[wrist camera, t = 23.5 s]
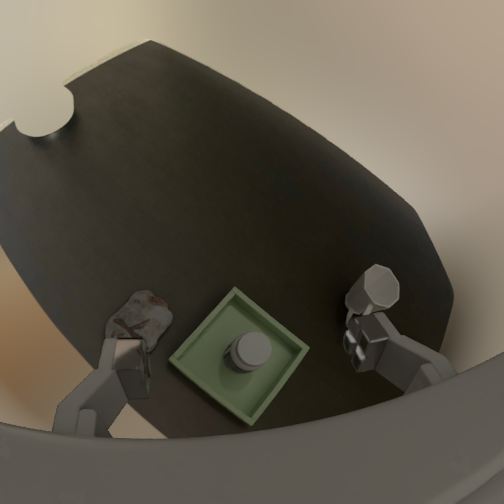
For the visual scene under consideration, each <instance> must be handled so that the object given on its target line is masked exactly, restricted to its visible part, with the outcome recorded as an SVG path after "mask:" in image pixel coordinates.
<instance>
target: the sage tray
mask: <svg viewBox="0 0 504 504" xmlns="http://www.w3.org/2000/svg"><path fill="white" fill-rule="evenodd" d="M249 332H259V333H262V334H264V335H265V336H266V337H267V338H268V339H269V341H270V343H271V346H272V352H271V355H270V358H269V359H268V360H267V362H266V363H265V364H264V365H263V366H262V367H261V368H259V369H258V370H255V371H252V372H249V373H246V374H236V373H233V372H231V371H230V370H229V369H228V368H227V367H226V365H225V363H224V352H225V350H226V348H227V347H228V346H229V345H230V344H231V343H232V342H233V341H234V340H235V339H236V338H237V337H238V336H239V335H241V334H244V333H249ZM309 348H310V347H308V346H307V345H306V344H305V343H303V342H302V341H301V340H300V339H298V338H297V337H296V336H295V335H293V334H292V333H291V332H290V331H288V330H287V329H286V328H285V327H283V326H282V325H281V324H280V323H279V322H277V321H276V320H275V319H274V318H272V317H271V316H270V315H269V314H267V313H266V312H265V311H264V310H263V309H261V308H260V307H259V306H258V305H257V304H255V303H254V302H253V301H252V300H251V299H249V298H248V297H247V296H246V295H245V294H243V293H242V292H241V291H240V290H239V289H237V288H236V287H234V288H233V289H232V290H231V291H230V292H229V293H228V294H227V295H226V296H225V298H224V299H223V300H222V301H221V302H220V303H219V304H218V305H217V306H216V307H215V309H214V310H213V311H212V312H211V313H210V314H209V315H208V316H207V317H206V318H205V320H204V321H203V322H202V323H201V324H200V325H199V326H198V327H197V328H196V329H195V331H194V332H193V333H192V334H191V335H190V336H189V337H188V338H187V339H186V340H185V342H184V343H183V344H182V345H181V346H180V347H179V348H178V349H177V350H176V351H175V352H174V354H173V355H172V356H171V357H170V358H169V359H168V360H169V363H171V364H172V365H173V366H174V367H175V368H176V369H177V370H179V371H180V372H181V373H182V374H183V375H184V376H186V377H187V378H188V379H189V380H190V381H191V382H193V383H194V384H195V385H196V386H197V387H199V388H200V389H201V390H202V391H204V392H205V393H206V394H207V395H209V396H210V397H211V398H212V399H214V400H215V401H216V402H217V403H219V404H220V405H221V406H223V407H224V408H225V409H227V410H228V411H229V412H230V413H232V414H233V415H234V416H236V417H237V418H239V419H240V420H241V421H243V422H244V423H245V424H247V425H250V426H252V425H253V424H254V423H255V421H256V420H257V419H258V418H259V416H260V415H261V414H262V413H263V411H264V410H265V409H266V408H267V406H268V405H269V404H270V402H271V401H272V400H273V398H274V397H275V396H276V394H277V393H278V392H279V390H280V389H281V388H282V386H283V385H284V384H285V382H286V381H287V380H288V378H289V377H290V375H291V374H292V373H293V371H294V370H295V368H296V367H297V366H298V364H299V363H300V361H301V360H302V359H303V357H304V356H305V354H306V353H307V351H308V350H309Z"/></svg>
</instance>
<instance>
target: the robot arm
mask: <svg viewBox="0 0 504 504" xmlns="http://www.w3.org/2000/svg"><path fill="white" fill-rule="evenodd" d="M347 325H348V327H349V329H348V330H347V331H346V332H345V334H344V338H343V343H344V348H345V351H346V352H347V354H348V355H350V356H352V361H351V362H352V364H353V365H354V367H355V369H356V371H357V373H359V372H363V371H368V370H373V369H375V371H377V372H378V373H380V374H381V375H382V376H384V377H385V378H386V379H388V380H389V381H390V382H392V383H393V384H395V385H396V386H397V387H399V388H400V389H402V390H403V391H404V392H405V393H404V395H403V396H401V397H398V398H395V399H392V400H389V401H386V402H383V403H380V404H377V405H373V406H370V407H367V408H363V409H360V410H356V411H353V412H349V413H345V414H341V415H337V416H333V417H329V418H325V419H321V420H316V421H312V422H307V423H302V424H297V425H292V426H286V427H281V428H275V429H269V430H262V431H255V432H248V433H239V434H231V435H221V436H209V437H195V438H172V439H127V438H113V437H112V436H111V434H110V433H109V431H108V429H109V427H110V426H111V425H112V423H113V422H114V420H115V419H116V417H117V416H118V415H119V413H120V412H121V410H122V409H123V408H124V406H125V405H126V403H127V402H128V399H149V396H150V384H149V380H148V378H149V377H150V373H151V368H150V359H149V354H148V352H147V351H145V350H146V343H145V340H144V338H143V337H118V338H105V340H104V343H103V347H102V352H101V356H100V361H99V366H98V369H94V370H93V371H92V372H91V373H90V374H89V375H88V376H87V377H86V378H85V379H84V380H83V381H82V382H81V383H80V384H79V385H78V386H77V387H76V388H75V389H74V390H73V391H72V392H71V393H70V394H69V395H68V396H66V398H64V400H62V401H61V402H60V403H59V404H58V406H57V410H56V414H55V418H54V423H53V428H52V432H50V431H43V430H37V429H31V428H26V427H20V426H16V425H11V424H6V423H2V422H0V504H504V352H502V353H500V354H498V355H496V356H495V357H493V358H491V359H489V360H487V361H485V362H483V363H481V364H479V365H477V366H475V367H473V368H471V369H468V370H466V371H464V372H462V373H459V374H458V373H457V372H456V370H455V369H454V368H453V366H452V365H451V364H450V362H449V361H448V360H447V358H446V357H445V356H443V355H441V354H439V353H438V352H436V351H434V350H432V349H430V348H428V347H426V346H424V345H422V344H420V343H418V342H416V341H414V340H412V339H410V338H408V337H406V336H404V335H403V336H401V335H400V334H399V333H398V331H397V330H396V329H395V327H394V326H393V325H392V323H391V322H390V321H389V319H388V318H387V317H386V315H385V314H384V313H382V312H378V313H373V314H368V315H362V316H357V317H351V318H350V319H349V321H348V324H347Z"/></svg>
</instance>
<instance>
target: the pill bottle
mask: <svg viewBox="0 0 504 504" xmlns="http://www.w3.org/2000/svg"><path fill="white" fill-rule="evenodd" d="M271 352H272V346H271V343H270V341H269V339H268V338H267V337H266V336H265V335H264V334H262V333H259V332H249V333H244V334H241V335H239V336H238V337H237V338H236V339H235V340H234V341H233V342H232V343H231V344H230V345H229V346H228V347H227V348H226V350H225V352H224V363H225V365H226V367H227V368H228V369H229V370H230V371H231V372H233V373H236V374H246V373H249V372H252V371H255V370H258V369H259V368H261V367H262V366H263V365H264V364H265V363H266V362H267V360H268V359H269V358H270V355H271Z"/></svg>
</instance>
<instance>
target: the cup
mask: <svg viewBox="0 0 504 504" xmlns="http://www.w3.org/2000/svg"><path fill="white" fill-rule="evenodd" d="M398 299H399V282H398V281H397V279H396V278H395V276H394V275H393V273H392V272H391V270H390V269H389V268H386V267H383V266H380V265H378V264H375V265H373V266H372V267H371V268H369V269H368V270H367V271H365V272H364V273H363V274H362V276H361V277H360V278H359V279H358V280H357V281H356V283H355V284H354V285H353V286H352V288H351V289H350V291H349V293H347V294H346V296H345V305H346V307H347V308H348V310H349V311H348V313H347V317H346V327H348V325H347V324H348V321H349V319H350V318H351V317H352V314H353V313H354V314H358V315H359V314H361V313H363V314H362V315H368V314H370V313H371V312H375V311H379V310H383V309H387V308H390V307H391V306H392V305H393V304H394V303H395V302H396V301H397V300H398ZM362 315H361V316H362ZM348 328H349V327H348Z"/></svg>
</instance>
